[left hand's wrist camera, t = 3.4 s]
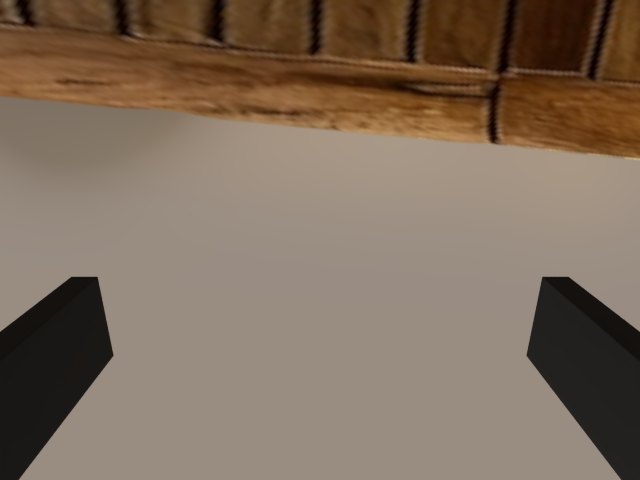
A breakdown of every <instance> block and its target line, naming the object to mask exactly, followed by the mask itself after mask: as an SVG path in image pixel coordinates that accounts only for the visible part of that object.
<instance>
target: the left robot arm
mask: <svg viewBox="0 0 640 480" xmlns="http://www.w3.org/2000/svg"><path fill="white" fill-rule="evenodd" d="M112 357H113V351H112V346H111V341H110V336H109V331H108V326H107V321H106V316H105V311H104V306H103V301H102V296H101V292H100V287H99V282H98V277H71V278H69V279H68V280H67V281H66V282H64V283H63V284H62V285H60V286H59V287H58V288H57V289H55V290H54V291H53V292H51V293H50V294H49V295H47V296H46V297H45V298H43V299H42V300H41V301H40V302H38V303H37V304H36V305H34V306H33V307H32V308H31V309H29V310H28V311H27V312H25V313H24V314H23V315H21V316H20V317H19V318H18V319H16V320H15V321H14V322H12V323H11V324H10V325H8V326H7V327H6V328H5V329H3V330H2V331H1V332H0V480H19V479H20V477H21V476H22V475H23V473H24V472H25V471H26V469H27V468H28V467H29V465H30V464H31V463H32V462H33V460H34V459H35V458H36V456H37V455H38V454H39V452H40V451H41V450H42V448H43V447H44V446H45V445H46V443H47V442H48V441H49V439H50V438H51V437H52V435H53V434H54V433H55V431H56V430H57V429H58V428H59V426H60V425H61V424H62V422H63V421H64V420H65V418H66V417H67V416H68V414H69V413H70V412H71V411H72V409H73V408H74V407H75V405H76V404H77V403H78V401H79V400H80V399H81V397H82V396H83V395H84V393H85V392H86V391H87V390H88V388H89V387H90V386H91V384H92V383H93V382H94V380H95V379H96V378H97V377H98V375H99V374H100V373H101V371H102V370H103V369H104V367H105V366H106V365H107V363H108V362H109V361H110V360H111V358H112ZM527 357H528V358H529V360H530V361H531V362H532V363H533V365H534V366H535V367H536V369H537V370H538V371H539V373H540V374H541V375H542V377H543V378H544V379H545V380H546V382H547V383H548V384H549V386H550V387H551V388H552V390H553V391H554V392H555V394H556V395H557V396H558V397H559V399H560V400H561V401H562V403H563V404H564V405H565V407H566V408H567V409H568V411H569V412H570V413H571V414H572V416H573V417H574V418H575V420H576V421H577V422H578V424H579V425H580V426H581V428H582V429H583V430H584V431H585V433H586V434H587V435H588V437H589V438H590V439H591V441H592V442H593V443H594V445H595V446H596V447H597V449H598V450H599V451H600V452H601V454H602V455H603V456H604V458H605V459H606V460H607V462H608V463H609V464H610V466H611V467H612V468H613V469H614V471H615V472H616V473H617V475H618V476H619V477H620V479H621V480H640V332H639V331H638V330H637V329H635V328H634V327H633V326H632V325H630V324H629V323H628V322H626V321H625V320H624V319H622V318H621V317H620V316H619V315H617V314H616V313H615V312H613V311H612V310H611V309H609V308H608V307H607V306H606V305H604V304H603V303H602V302H600V301H599V300H598V299H596V298H595V297H594V296H593V295H591V294H590V293H589V292H587V291H586V290H585V289H584V288H582V287H581V286H580V285H578V284H577V283H576V282H574V281H573V280H572V279H571V278H569V277H542V282H541V287H540V292H539V297H538V301H537V306H536V311H535V316H534V321H533V326H532V331H531V336H530V341H529V346H528V351H527Z"/></svg>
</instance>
